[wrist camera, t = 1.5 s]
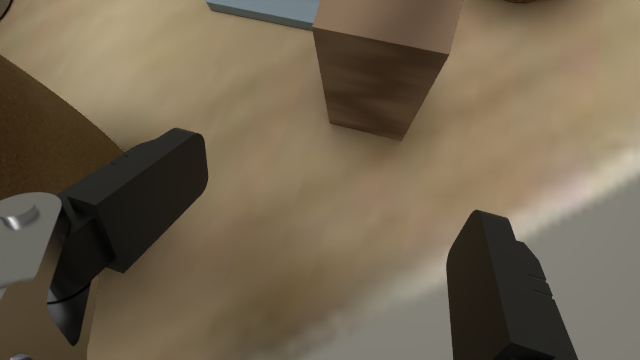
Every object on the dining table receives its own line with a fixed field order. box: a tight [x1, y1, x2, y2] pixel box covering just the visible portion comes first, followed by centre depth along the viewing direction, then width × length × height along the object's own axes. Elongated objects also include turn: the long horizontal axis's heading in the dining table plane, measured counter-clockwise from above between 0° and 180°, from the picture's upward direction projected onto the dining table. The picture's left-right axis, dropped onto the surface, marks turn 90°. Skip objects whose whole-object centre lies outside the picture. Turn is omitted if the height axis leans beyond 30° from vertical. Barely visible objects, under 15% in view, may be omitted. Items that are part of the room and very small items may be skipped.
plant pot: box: [0, 55, 124, 201], centre depth 18 cm, size 15×15×16 cm
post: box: [312, 0, 463, 141], centre depth 19 cm, size 6×6×12 cm
